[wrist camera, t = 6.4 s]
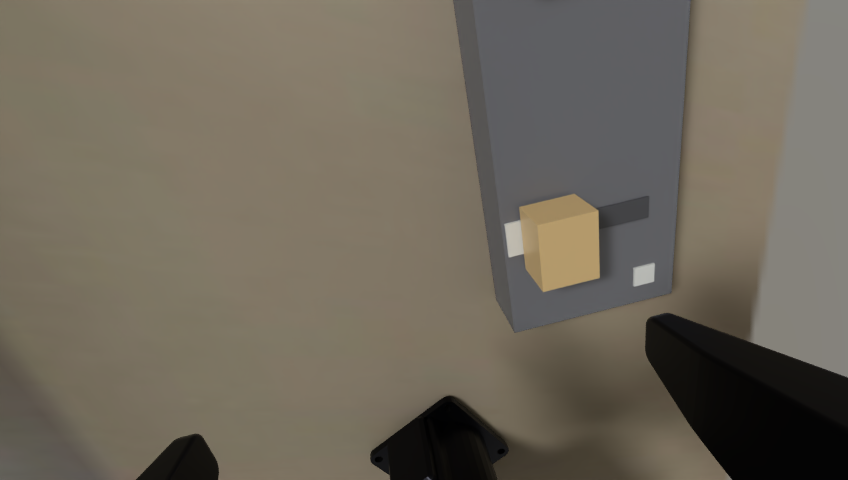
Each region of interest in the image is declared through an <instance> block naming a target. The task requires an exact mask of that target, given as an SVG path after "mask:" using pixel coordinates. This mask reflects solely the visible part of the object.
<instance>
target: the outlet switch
mask: <svg viewBox="0 0 848 480" xmlns="http://www.w3.org/2000/svg"><path fill="white" fill-rule="evenodd" d="M519 211H520V221H521V230H522V240H523V249H524V259H525V269H526V270H527V271H528V273H529V274H530V275H531V277H532V278H533V279H534V281H535V282H536V283H537V285H538V286H539V287H540V289H541V290H542V291H543V292H546V291H550V290H554V289H558V288H562V287H566V286H570V285H574V284H578V283H582V282H586V281H590V280H594V279H598V278H600V264H599V211H598V210H597V209H595V208H594V207H593V206H591V205H590V204H588V203H587V202H585V201H584V200H583V199H581V198H580V197H578V196H577V195H575V194H571V195H567V196H563V197H559V198H555V199H550V200H546V201H542V202H538V203H534V204H529V205H525V206H521V207H519Z"/></svg>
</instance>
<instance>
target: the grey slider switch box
mask: <svg viewBox="0 0 848 480" xmlns="http://www.w3.org/2000/svg"><path fill="white" fill-rule="evenodd" d="M453 1H454V8H455V15H456V22H457V29H458V36H459V43H460V50H461V57H462V64H463V71H464V78H465V85H466V92H467V99H468V106H469V113H470V120H471V127H472V134H473V141H474V148H475V155H476V162H477V169H478V176H479V183H480V190H481V197H482V203H483V210H484V217H485V224H486V231H487V238H488V245H489V252H490V259H491V266H492V273H493V280H494V287H495V294H496V300H497V302H498V304H499V305H500V307H501V309H502V311H503V313H504V314H505V316H506V318H507V320H508V322H509V324H510V325H511V327H512V329H513V331H514V333H516V332H520V331H523V330H527V329H531V328H535V327H539V326H543V325H547V324H551V323H555V322H559V321H563V320H567V319H571V318H575V317H579V316H583V315H586V314H590V313H594V312H598V311H602V310H606V309H610V308H614V307H618V306H622V305H626V304H630V303H634V302H638V301H642V300H646V299H650V298H653V297H657V296H661V295H665V294H669V293H671V290H672V275H673V259H674V244H675V229H676V214H677V199H678V183H679V168H680V153H681V138H682V123H683V108H684V92H685V77H686V62H687V47H688V32H689V16H690V1H691V0H453ZM571 194H575V195H577V196H578V197H580V198H581V199H583V200H584V201H585V202H587V203H588V204H590V205H591V206H593V207H594V208H595V209H597V210H598V211H599V264H600V278H598V279H594V280H590V281H586V282H582V283H578V284H574V285H570V286H566V287H562V288H558V289H554V290H550V291H546V292H543V291H542V290H541V289H540V287H539V286H538V285H537V283H536V282H535V281H534V279H533V278H532V277H531V275H530V274H529V273H528V271H527V270H526V269H525V259H524V249H523V240H522V230H521V221H520V211H519V207H521V206H525V205H529V204H534V203H538V202H542V201H546V200H550V199H555V198H559V197H563V196H567V195H571Z"/></svg>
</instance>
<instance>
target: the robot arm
mask: <svg viewBox="0 0 848 480" xmlns="http://www.w3.org/2000/svg"><path fill="white" fill-rule="evenodd" d="M645 351H646V355H647V358H648V360H649V362H650V363H651V365H652V367H653V368H654V370H655V371H656V373H657V374H658V376H659V378H660V379H661V381H662V382H663V384H664V385H665V387H666V389H667V390H668V392H669V393H670V395H671V396H672V398H673V400H674V401H675V403H676V404H677V406H678V408H679V409H680V411H681V412H682V414H683V415H684V417H685V418H686V420H687V421H688V423H689V424H690V426H691V427H692V429H693V430H694V431H695V433H696V434H697V435H698V437H699V438H700V439H701V441H702V442H703V443H704V445H705V446H706V447H707V448H708V450H709V451H710V452H711V453H712V455H713V456H714V457H715V459H716V460H717V461H718V462H719V464H720V465H721V466H722V467H723V469H724V470H725V471H726V473H727V474H728V475H729V476H730V478H731V479H732V480H848V378H847V377H845V376H842V375H839V374H837V373H834V372H831V371H828V370H826V369H822V368H820V367H817V366H814V365H812V364H809V363H806V362H803V361H801V360H798V359H795V358H792V357H789V356H787V355H784V354H781V353H779V352H776V351H773V350H770V349H767V348H765V347H762V346H759V345H756V344H754V343H751V342H748V341H745V340H743V339H740V338H737V337H734V336H732V335H729V334H726V333H723V332H721V331H718V330H715V329H712V328H709V327H707V326H704V325H701V324H698V323H696V322H693V321H690V320H687V319H685V318H682V317H679V316H676V315H674V314H670V313H664V314H660V315H656V316H652V317H650V318H648V320H647V322H646V340H645ZM446 405H449V406H446ZM508 451H509V449H508V446H507V444H506V442H505V441H504V440H502V439H501V438H500V437H499V436H498V435H496V434H495V433H494V432H493V431H492V430H490V429H489V428H488V427H487V426H486V425H485V424H483V423H482V422H481V421H480V420H479V419H477V418H476V417H475V416H474V415H473V414H471V413H470V412H469V411H468V410H467V409H465V408H464V407H463V406H462V405H461V404H460V403H458V402H457V401H456V400H455V399H454V398H452V397H444V398H442V399H441V400H439V401H438V402H437V403H435V404H434V405H433V406H431V407H430V408H429V409H427V410H426V411H425V412H423V413H422V414H421V415H419V416H418V417H417V418H415V419H414V420H413V421H411V422H410V423H409V424H407V425H406V426H404V427H403V428H402V429H400V430H399V431H398V432H396V433H395V434H394V435H392V436H391V437H390V438H388V439H387V440H386V441H384V442H383V443H382V444H380V445H379V446H378V447H376V448H375V449H374V450H373V451H372V452H371V454H370V459H371V463H372V464H374V465H375V466H377V467H378V468H380V469H381V470H383V471H384V472H386V473H387V474H389V475H390V480H497V477H496V474H495V471H494V468H493V465H492V464H493V463H495V462H496V461H498V460H499V459H501V458H502V457H504V456H505V455H506V454H507V453H508ZM379 456H380V457H379ZM218 475H219V468H218V463H217V461H216V459H215V457H214V455H213V453H212V452H211V450H210V448H209V447H208V445H207V443H206V442H205V440H204V438H203V437H202V436H201V435H199V434H192V435H188V436H184V437H180V438H178V439H176V440H174V441H173V442H172V443H171V444H170V445H169V446H168V447H167V448H166V449H165V450H164V451H163V452H162V453H161V454H160V455H159V456H158V457H157V458H156V460H155V461H154V462H153V463H152V464H151V465H150V466H149V467H148V468H147V469H146V470H145V471H144V472H143V473H142V474H141V475H140V476H139V477H138V478H137V479H136V480H218Z"/></svg>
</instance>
